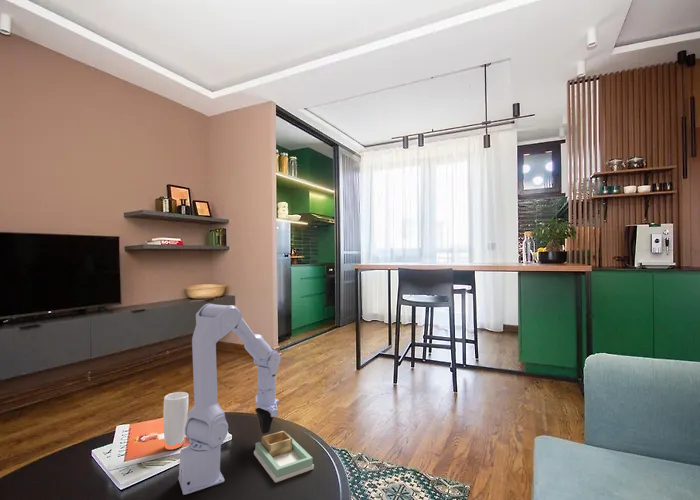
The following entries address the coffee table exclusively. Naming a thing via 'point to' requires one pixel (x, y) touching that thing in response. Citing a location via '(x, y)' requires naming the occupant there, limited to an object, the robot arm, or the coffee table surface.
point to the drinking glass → (175, 417)
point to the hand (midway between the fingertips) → (265, 432)
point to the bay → (284, 462)
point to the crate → (277, 443)
